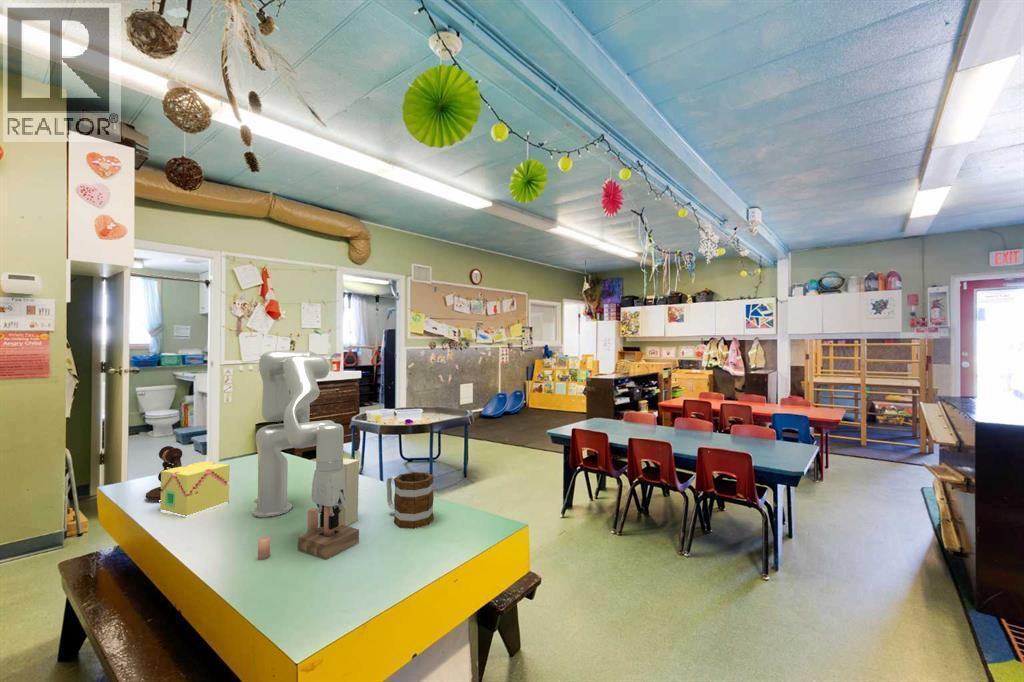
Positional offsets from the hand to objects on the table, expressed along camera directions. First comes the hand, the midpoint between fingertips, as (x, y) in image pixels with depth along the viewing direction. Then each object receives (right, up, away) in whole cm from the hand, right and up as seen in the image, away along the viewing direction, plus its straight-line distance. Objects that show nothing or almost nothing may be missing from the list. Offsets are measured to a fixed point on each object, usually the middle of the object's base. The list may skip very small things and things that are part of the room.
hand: (329, 526), depth 127 cm
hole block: (0, -6, 0) cm, 6 cm away
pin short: (-16, -6, -7) cm, 18 cm away
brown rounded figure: (-83, -7, +43) cm, 94 cm away
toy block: (-64, -7, +31) cm, 71 cm away
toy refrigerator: (-3, -7, +18) cm, 20 cm away
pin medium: (-9, -6, +8) cm, 13 cm away
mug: (+18, -7, +21) cm, 29 cm away
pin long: (0, -4, 0) cm, 4 cm away
